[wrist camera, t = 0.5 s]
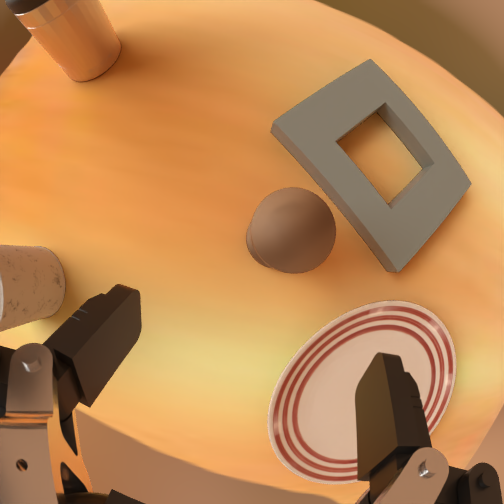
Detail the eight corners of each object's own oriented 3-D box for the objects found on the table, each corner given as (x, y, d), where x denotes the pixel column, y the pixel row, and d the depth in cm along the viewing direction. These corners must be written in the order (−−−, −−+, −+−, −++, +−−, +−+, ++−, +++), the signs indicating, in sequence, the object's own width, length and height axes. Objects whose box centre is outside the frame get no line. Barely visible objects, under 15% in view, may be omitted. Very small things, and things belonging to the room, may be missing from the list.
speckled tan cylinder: (58, 329, 32) (0, 353, 20) (11, 301, 32) (-48, 312, 19) (73, 260, 32) (10, 261, 20) (23, 236, 32) (-38, 230, 20)
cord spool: (234, 235, 34) (233, 224, 23) (278, 197, 34) (297, 170, 23) (272, 280, 34) (290, 291, 23) (316, 241, 34) (351, 235, 23)
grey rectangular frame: (270, 131, 34) (273, 121, 31) (362, 69, 35) (370, 58, 32) (386, 271, 34) (398, 272, 31) (459, 187, 35) (471, 183, 32)
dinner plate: (466, 313, 35) (480, 317, 32) (405, 468, 35) (414, 478, 31) (297, 276, 34) (303, 278, 31) (243, 466, 33) (244, 481, 30)
